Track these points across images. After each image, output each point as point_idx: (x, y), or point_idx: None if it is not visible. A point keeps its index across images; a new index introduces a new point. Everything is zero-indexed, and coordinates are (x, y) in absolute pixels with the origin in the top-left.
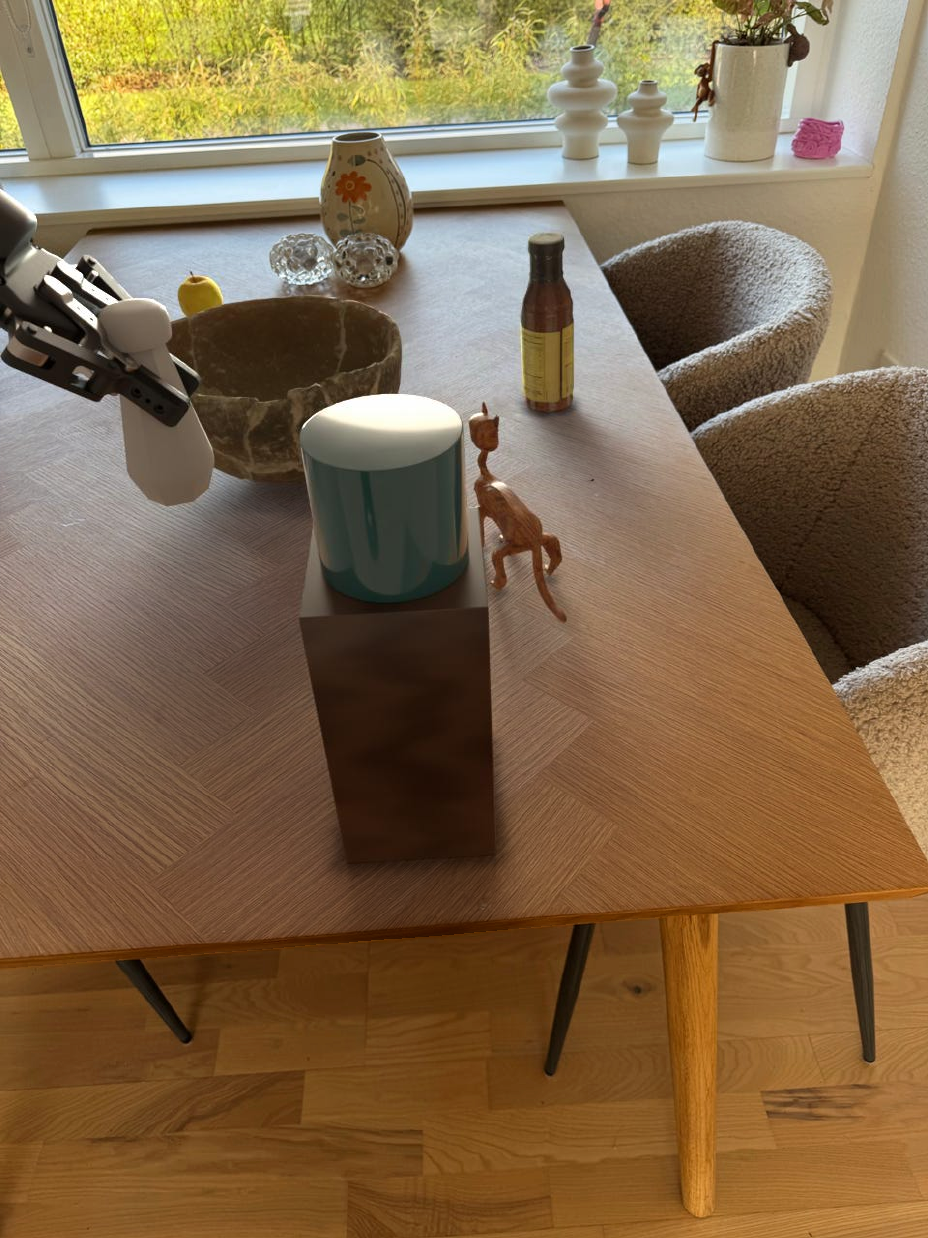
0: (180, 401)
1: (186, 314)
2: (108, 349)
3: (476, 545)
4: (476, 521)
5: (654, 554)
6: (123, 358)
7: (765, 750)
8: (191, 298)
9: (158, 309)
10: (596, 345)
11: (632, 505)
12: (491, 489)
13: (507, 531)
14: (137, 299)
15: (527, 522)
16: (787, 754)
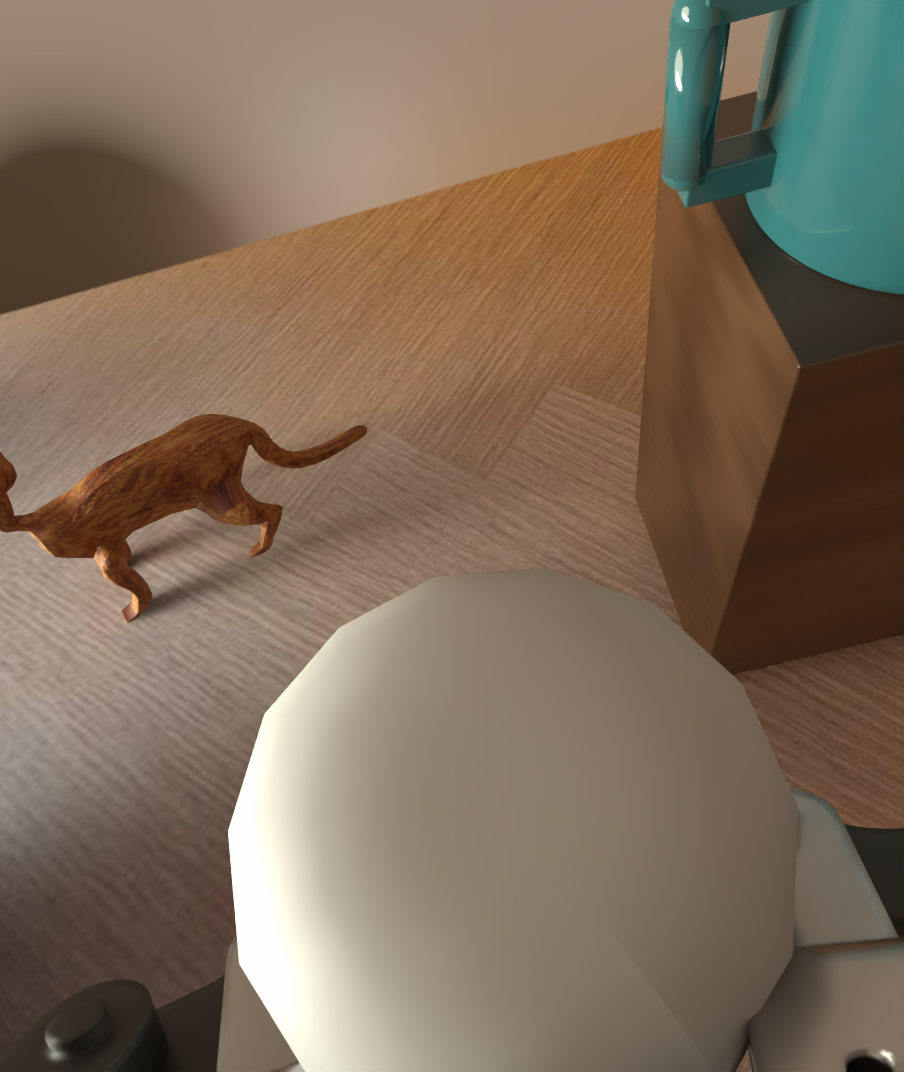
0: None
1: None
2: (881, 911)
3: None
4: (724, 102)
5: (178, 358)
6: (801, 845)
7: (570, 223)
8: None
9: (481, 584)
10: None
11: (39, 398)
12: (96, 499)
13: (202, 479)
14: (347, 799)
15: (207, 429)
16: (572, 206)
